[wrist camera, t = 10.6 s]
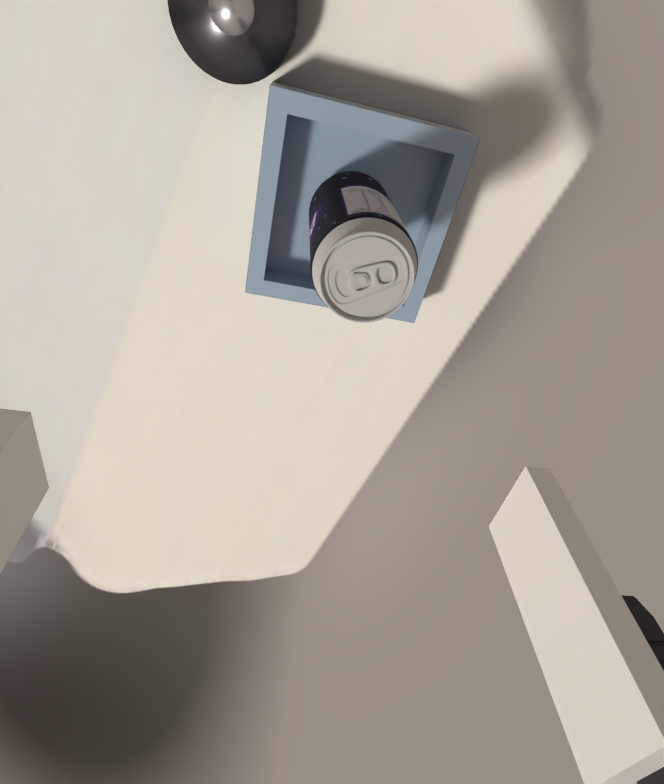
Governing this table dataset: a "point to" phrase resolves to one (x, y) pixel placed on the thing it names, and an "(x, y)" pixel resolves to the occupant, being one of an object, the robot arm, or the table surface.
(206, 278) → the table surface
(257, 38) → the grey flat rectangular frame
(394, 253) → the beverage can
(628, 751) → the robot arm
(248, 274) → the tray
